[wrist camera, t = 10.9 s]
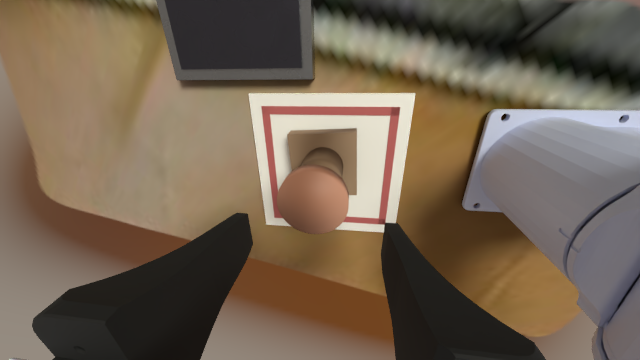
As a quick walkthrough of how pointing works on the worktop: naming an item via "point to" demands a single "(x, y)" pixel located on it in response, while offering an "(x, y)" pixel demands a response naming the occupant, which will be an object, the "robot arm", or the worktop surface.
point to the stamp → (319, 179)
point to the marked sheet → (338, 113)
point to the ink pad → (240, 39)
